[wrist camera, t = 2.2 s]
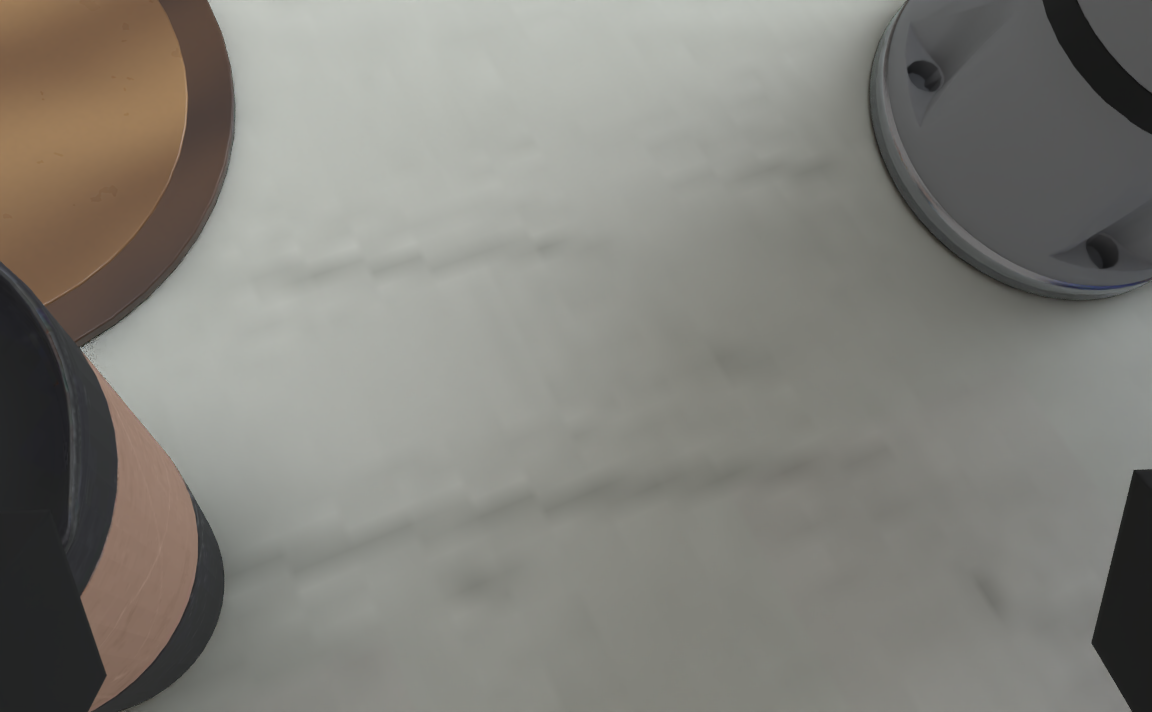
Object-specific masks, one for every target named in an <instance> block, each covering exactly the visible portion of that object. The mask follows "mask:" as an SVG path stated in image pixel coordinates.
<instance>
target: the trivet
mask: <svg viewBox="0 0 1152 712" xmlns="http://www.w3.org/2000/svg"><path fill="white" fill-rule="evenodd" d="M234 122H235V98H234V89H233V80H232V71H231V66H230V62H229V58H228V54H227V51H226V47H225V43H224V39H223V36H222V32H221V30H220V28H219V25H218V23H217V21H216V19H215V16H214V14H213V12H212V9H211V7H210V5H209V2H208V1H207V0H0V261H1V262H2V263H3V264H4V265H5V266H6V267H7V268H8V269H10V270H11V271H12V272H13V273H14V274H15V275H16V276H17V277H18V278H20V279H21V280H22V281H23V282H24V283H25V284H26V285H27V286H28V287H29V288H30V289H31V290H32V291H33V293H34V294H35V295H36V296H37V297H38V299H39V300H40V301H41V302H42V303H43V305H44V306H45V307H46V308H47V309H48V311H49V312H50V313H51V314H52V315H53V317H54V318H55V319H56V320H57V322H58V323H59V324H60V325H61V326H62V328H63V329H64V330H65V331H66V332H67V334H68V335H69V336H70V337H71V339H72V340H73V341H74V342H75V343H76V345H77V346H78V347H80V346H82V345H83V344H85V343H86V342H88V341H90V340H91V339H93V338H94V337H96V336H97V335H99V334H100V333H102V332H104V331H105V330H107V329H108V328H110V327H111V326H113V325H115V324H116V323H117V322H119V321H120V320H121V319H122V318H124V317H125V316H126V315H127V314H128V313H130V312H131V311H132V310H133V309H134V308H136V307H137V306H138V305H139V304H141V303H142V302H143V301H144V300H145V299H147V298H148V297H149V296H150V295H151V294H152V293H153V292H154V291H155V290H156V288H157V287H158V286H159V285H160V284H161V283H162V282H163V281H164V280H165V279H166V278H167V277H168V276H169V275H170V274H171V273H172V272H173V270H174V269H175V268H176V267H177V266H178V264H179V263H180V262H181V260H182V259H183V257H184V256H185V255H186V253H187V252H188V250H189V249H190V248H191V246H192V245H193V244H194V242H195V241H196V239H197V238H198V236H199V235H200V233H201V231H202V229H203V227H204V225H205V223H206V221H207V219H208V218H209V216H210V214H211V212H212V210H213V208H214V206H215V204H216V201H217V199H218V196H219V193H220V190H221V187H222V185H223V182H224V179H225V176H226V173H227V170H228V165H229V160H230V155H231V150H232V145H233V139H234Z"/></svg>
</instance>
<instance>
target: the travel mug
mask: <svg viewBox="0 0 1152 712" xmlns="http://www.w3.org/2000/svg"><path fill="white" fill-rule="evenodd" d="M46 509H50V510H51V513H52V516H53V519H54V522H55V524H56V527H57V530H58V533H59V536H60V539H61V542H62V545H63V548H64V551H65V554H66V557H67V560H68V563H69V566H70V569H71V571H72V574H73V577H74V580H75V583H76V586H77V589H78V592H79V595H80V598H81V601H82V604H83V607H84V610H85V613H86V616H87V618H88V621H89V624H90V627H91V630H92V633H93V636H94V639H95V642H96V645H97V648H98V651H99V654H100V657H101V660H102V663H103V666H104V668H105V671H106V674H107V676H106V678H105V680H104V682H103V684H102V686H101V688H100V690H99V692H98V694H97V696H96V698H95V700H94V702H93V703H92V705H91V707H90V709H89V711H88V712H118V711H121V710H124V709H126V708H129V707H132V706H135V705H137V704H139V703H141V702H143V701H145V700H148V699H150V698H152V697H153V696H155V695H156V694H158V693H160V692H161V691H163V690H164V689H166V688H167V687H169V686H170V685H171V684H172V683H174V682H175V681H176V680H177V679H178V678H180V677H181V676H182V675H183V674H184V673H185V672H186V671H187V670H188V669H189V668H190V666H191V665H192V664H193V663H194V662H195V661H196V659H197V658H198V657H199V655H200V654H201V652H202V651H203V650H204V648H205V646H206V644H207V643H208V641H209V639H210V637H211V636H212V633H213V631H214V629H215V626H216V624H217V621H218V618H219V614H220V611H221V607H222V601H223V594H224V570H223V563H222V557H221V553H220V550H219V546H218V543H217V541H216V538H215V536H214V534H213V532H212V529H211V527H210V525H209V523H208V521H207V520H206V518H205V516H204V514H203V513H202V511H201V509H200V507H199V506H198V504H197V502H196V500H195V499H194V497H193V495H192V493H191V492H190V490H189V488H188V486H187V484H186V483H185V481H184V479H183V478H182V476H181V474H180V473H179V471H178V470H177V468H176V466H175V465H174V463H173V462H172V460H171V458H170V457H169V456H168V455H167V454H166V452H165V451H164V450H163V449H162V447H161V446H160V445H159V444H158V443H157V441H156V440H155V439H154V438H153V437H152V435H151V434H150V433H149V432H148V431H147V429H146V428H145V427H144V426H143V425H142V423H141V422H140V421H139V420H138V418H137V417H136V416H135V415H134V414H133V412H132V411H131V410H130V409H129V408H128V406H127V405H126V404H125V403H124V402H123V400H122V399H121V398H120V397H119V395H118V394H117V393H116V392H115V391H114V389H113V388H112V387H111V386H110V385H109V383H108V382H107V381H106V380H105V379H104V377H103V376H102V375H101V374H100V373H99V371H98V370H97V369H96V368H95V366H94V365H93V364H92V363H91V362H90V360H89V359H88V358H87V357H86V356H85V354H84V353H83V352H82V351H81V350H80V348H79V347H78V346H77V345H76V343H75V342H74V341H73V340H72V339H71V337H70V336H69V335H68V334H67V332H66V331H65V330H64V329H63V328H62V326H61V325H60V324H59V323H58V322H57V320H56V319H55V318H54V317H53V315H52V314H51V313H50V312H49V311H48V309H47V308H46V307H45V306H44V305H43V303H42V302H41V301H40V300H39V299H38V297H37V296H36V295H35V294H34V293H33V291H32V290H31V289H30V288H29V287H28V286H27V285H26V284H25V283H24V282H23V281H22V280H21V279H20V278H18V277H17V276H16V275H15V274H14V273H13V272H12V271H11V270H10V269H8V268H7V267H6V266H5V265H4V264H3V263H2V262H1V261H0V511H18V510H46Z"/></svg>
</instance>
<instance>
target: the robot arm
mask: <svg viewBox="0 0 1152 712" xmlns="http://www.w3.org/2000/svg"><path fill="white" fill-rule="evenodd" d="M870 107H871V114H872V122H873V126H874V131H875V135H876V139H877V142H878V145H879V148H880V151H881V154H882V157H883V159H884V162H885V164H886V166H887V169H888V171H889V173H890V175H891V177H892V179H893V181H894V183H895V184H896V186H897V188H898V190H899V191H900V193H901V194H902V196H903V197H904V199H905V201H906V202H907V204H908V205H909V206H910V208H911V209H912V210H913V212H914V213H915V214H916V215H917V217H918V218H919V219H920V221H921V222H922V223H923V224H924V225H925V226H926V227H927V228H928V229H929V230H930V231H931V232H932V234H933V235H934V236H935V237H937V238H938V239H939V240H940V241H941V242H942V243H943V244H944V245H945V246H946V247H947V248H949V249H950V250H951V251H952V252H954V253H955V254H956V255H957V256H959V257H960V258H961V259H963V260H964V261H966V262H967V263H969V264H970V265H972V266H973V267H975V268H976V269H978V270H979V271H981V272H983V273H985V274H986V275H988V276H990V277H992V278H994V279H996V280H998V281H1000V282H1002V283H1005V284H1007V285H1009V286H1011V287H1014V288H1017V289H1020V290H1023V291H1026V292H1029V293H1032V294H1037V295H1041V296H1045V297H1050V298H1057V299H1065V300H1091V299H1101V298H1106V297H1112V296H1116V295H1119V294H1122V293H1126V292H1129V291H1131V290H1133V289H1136V288H1138V287H1140V286H1142V285H1144V284H1146V283H1148V282H1150V281H1152V0H907V1H906V2H905V3H904V4H903V6H902V7H901V8H900V9H899V11H898V12H897V13H896V14H895V16H894V17H893V18H892V20H891V21H890V23H889V24H888V26H887V28H886V29H885V31H884V33H883V35H882V38H881V40H880V42H879V44H878V48H877V51H876V54H875V57H874V61H873V67H872V72H871V82H870ZM1092 645H1093V646H1094V648H1095V650H1096V652H1097V653H1098V655H1099V657H1100V658H1101V660H1102V662H1103V663H1104V665H1105V667H1106V668H1107V670H1108V672H1109V673H1110V675H1111V677H1112V678H1113V680H1114V682H1115V683H1116V685H1117V687H1118V689H1119V690H1120V692H1121V694H1122V695H1123V697H1124V699H1125V700H1126V702H1127V704H1128V705H1129V707H1130V709H1131V710H1132V712H1152V469H1148V470H1134V471H1133V475H1132V480H1131V484H1130V488H1129V492H1128V496H1127V500H1126V504H1125V508H1124V512H1123V516H1122V520H1121V524H1120V528H1119V533H1118V537H1117V541H1116V545H1115V549H1114V553H1113V557H1112V561H1111V565H1110V569H1109V573H1108V577H1107V582H1106V586H1105V590H1104V594H1103V598H1102V602H1101V606H1100V610H1099V614H1098V618H1097V622H1096V626H1095V630H1094V635H1093V639H1092ZM106 676H107V674H106V671H105V668H104V666H103V663H102V660H101V657H100V654H99V651H98V648H97V645H96V642H95V639H94V636H93V633H92V630H91V627H90V624H89V621H88V618H87V616H86V613H85V610H84V607H83V604H82V601H81V598H80V595H79V592H78V589H77V586H76V583H75V580H74V577H73V574H72V571H71V569H70V566H69V563H68V560H67V557H66V554H65V551H64V548H63V545H62V542H61V539H60V536H59V533H58V530H57V527H56V524H55V522H54V519H53V516H52V513H51V510H50V509H46V510H18V511H0V712H88V711H89V709H90V707H91V705H92V703H93V702H94V700H95V698H96V696H97V694H98V692H99V690H100V688H101V686H102V684H103V682H104V680H105V678H106Z"/></svg>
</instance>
